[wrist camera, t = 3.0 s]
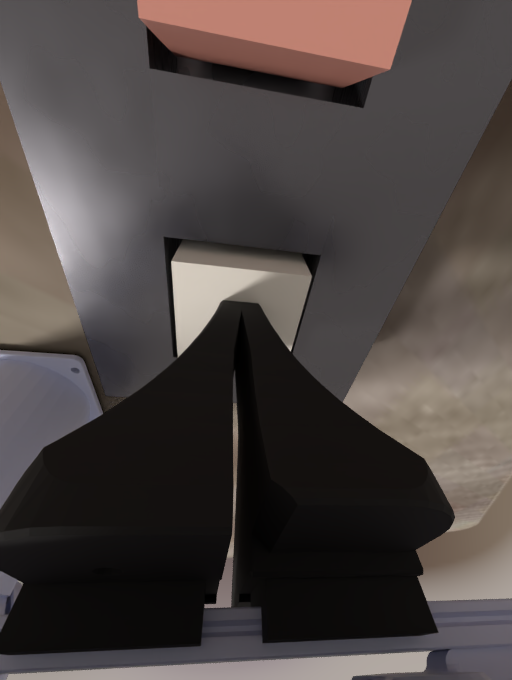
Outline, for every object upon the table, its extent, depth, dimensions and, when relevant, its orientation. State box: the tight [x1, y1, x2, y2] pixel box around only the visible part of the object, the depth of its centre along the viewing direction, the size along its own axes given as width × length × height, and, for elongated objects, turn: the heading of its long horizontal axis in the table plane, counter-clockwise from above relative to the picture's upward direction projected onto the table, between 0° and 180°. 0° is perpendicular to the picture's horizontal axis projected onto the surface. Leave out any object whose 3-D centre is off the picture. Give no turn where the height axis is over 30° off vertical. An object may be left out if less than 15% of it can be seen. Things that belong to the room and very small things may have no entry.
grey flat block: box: [0, 0, 512, 403], centre depth 9 cm, size 20×12×4 cm, turn 172°
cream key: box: [171, 239, 312, 357], centre depth 11 cm, size 4×4×3 cm
